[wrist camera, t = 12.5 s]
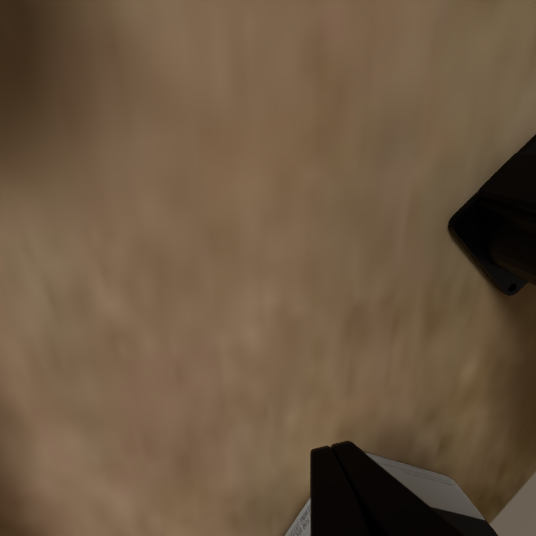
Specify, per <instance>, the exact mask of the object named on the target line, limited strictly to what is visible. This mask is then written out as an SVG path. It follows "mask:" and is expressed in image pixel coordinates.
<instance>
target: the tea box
mask: <svg viewBox="0 0 536 536" xmlns="http://www.w3.org/2000/svg"><path fill="white" fill-rule="evenodd" d="M365 453H366V452H365ZM366 454H367V455H368V456H369V457H371V458H372V459H373V460H374V461H375V462H377V463H378V464H379V465H380V466H381V467H383V468H384V469H385V470H386V471H388V472H389V473H390V474H391V475H392V476H394V477H395V478H396V479H397V480H398V481H400V482H401V483H402V484H403V485H404V486H406V487H407V488H408V489H409V490H411V491H412V492H413V493H414V494H415V495H417V496H418V497H419V498H420V499H421V500H423V501H424V502H425V503H426V504H428V505H429V506H430V507H431V508H432V509H434V510H435V511H436V512H437V513H438V514H440V515H441V516H442V517H443V518H444V519H446V520H447V521H448V522H449V523H451V524H452V525H453V526H454V527H455V528H457V529H458V530H459V531H460V532H461V533H463V534H464V535H465V536H498V535H497V534H496V532H495V531H494V530H493V528H492V527H491V526H490V525H489V524H488V523H487V521H486V520H485V518H484V517H483V516H482V515H481V513H480V512H479V511H478V509H477V508H476V507H475V506H474V504H473V503H472V502H471V501H470V499H469V498H468V497H467V496H466V494H465V493H464V492H463V491H462V490H461V488H460V487H459V486H458V485H457V484H456V482H455V481H454V480H453V479H452V478H450V477H447V476H446V475H442V474H439V473H436V472H432V471H429V470H426V469H422V468H419V467H415V466H412V465H408V464H405V463H401V462H398V461H394V460H391V459H387V458H384V457H381V456H377V455H373V454H370V453H366ZM285 536H310V498H309V500H308V501H307V503H306V504H305V506H304V507H303V509H302V510H301V512H300V513H299V515H298V516H297V518H296V519H295V521H294V522H293V524H292V525H291V527H290V528H289V530H288V531H287V533H286V534H285Z"/></svg>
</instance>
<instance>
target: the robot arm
mask: <svg viewBox="0 0 536 536" xmlns="http://www.w3.org/2000/svg"><path fill="white" fill-rule="evenodd" d="M461 220H462V223H461V225H460V226H459V227H458V223H459V222H460V221H461ZM449 228H450V230H451V231H452V233H453V234H454V235H455V236H456V238H457V239H458V240H459V241H460V242H461V244H462V245H463V246H464V247H465V248H466V250H467V251H468V252H469V253H470V255H471V256H472V257H473V258H474V259H475V261H476V262H477V263H478V264H479V266H480V267H481V268H482V269H483V270H484V272H485V273H486V274H487V275H488V277H489V278H490V279H491V280H492V281H493V283H494V284H495V285H496V286H497V288H498V289H499V290H500V291H501V292H502V293H504V294H506V295H509V296H511V295H514V294H516V293H517V292H518V291H519V290H520V289H521V288H522V287H523V286H524V285H526V284H527V283H528V282H529V283H531V284H534V285H536V135H535V136H534V137H533V138H532V139H531V140H530V141H528V142H527V143H526V144H525V145H524V146H523V147H522V148H521V149H520V150H519V151H518V152H517V153H516V154H514V155H513V156H512V157H511V158H510V159H509V160H508V161H507V162H506V163H505V164H504V165H503V166H502V167H501V168H500V169H499V170H498V171H497V172H496V173H495V174H494V175H493V176H492V177H491V178H490V179H489V180H488V181H487V182H486V183H485V184H484V185H483V186H482V187H481V188H480V189H479V191H478V192H477V193H476V194H475V195H474V196H472V197H471V198H470V199H469V200H468V201H467V202H466V203H465V204H464V205H463V206H462V207H461V208H460V209H459V210H458V211H457V212H456V213H455V214H454V215H453V216H452V217H451V219H450V221H449ZM510 285H511V286H510ZM509 286H510V287H509ZM310 536H465V535H464V534H463V533H461V532H460V531H459V530H458V529H457V528H455V527H454V526H453V525H452V524H451V523H449V522H448V521H447V520H446V519H444V518H443V517H442V516H441V515H440V514H438V513H437V512H436V511H435V510H434V509H432V508H431V507H430V506H429V505H428V504H426V503H425V502H424V501H423V500H421V499H420V498H419V497H418V496H417V495H415V494H414V493H413V492H412V491H411V490H409V489H408V488H407V487H406V486H404V485H403V484H402V483H401V482H400V481H398V480H397V479H396V478H395V477H394V476H392V475H391V474H390V473H389V472H388V471H386V470H385V469H384V468H383V467H381V466H380V465H379V464H378V463H377V462H375V461H374V460H373V459H372V458H371V457H369V456H368V455H367V454H366V453H365V452H363V451H362V450H361V449H360V448H358V447H357V446H356V445H355V444H354V443H352V442H350V441H344V442H340V443H336V444H333V445H332V446H331V447H329V446H323V447H319V448H315V449H312V450H311V454H310Z"/></svg>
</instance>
